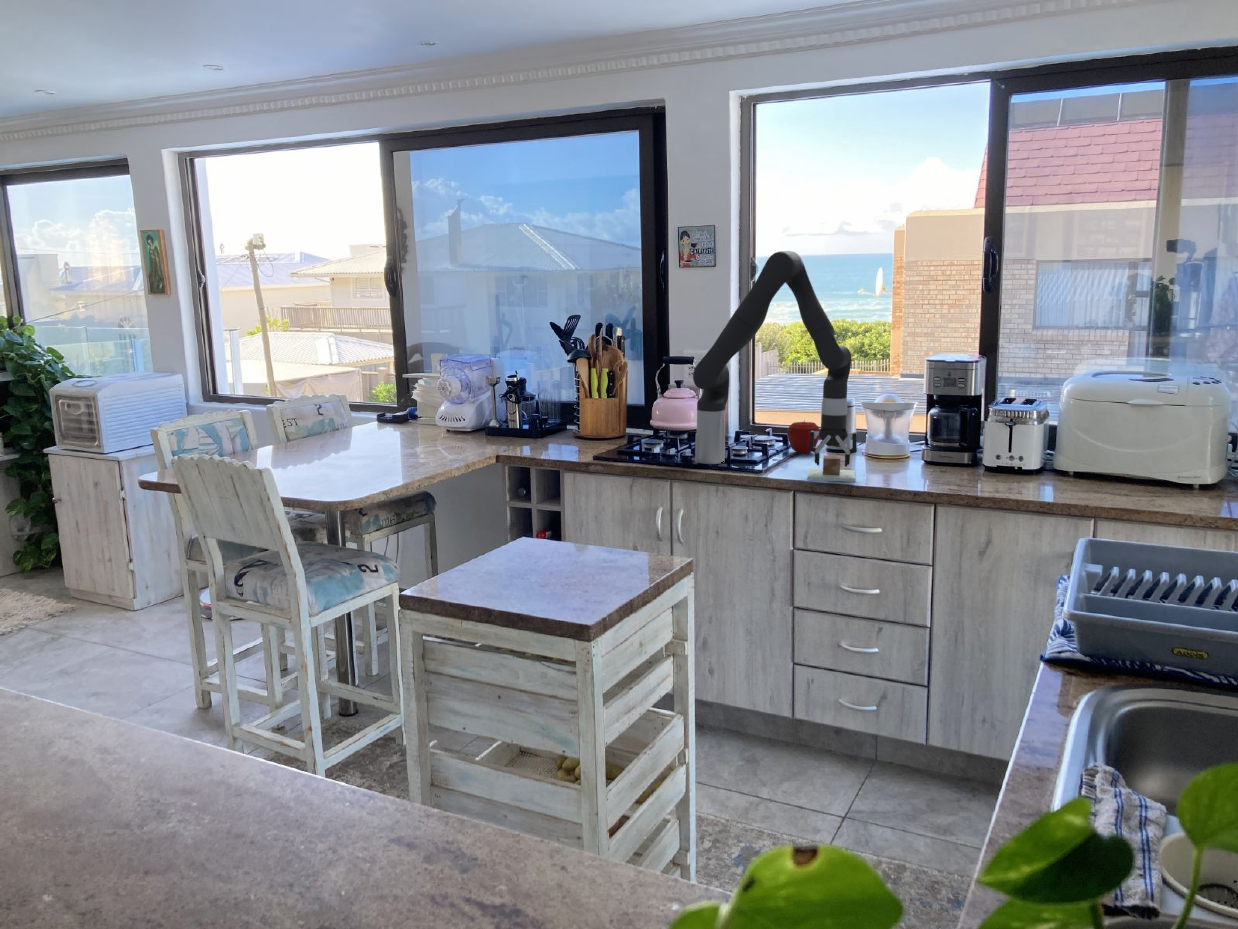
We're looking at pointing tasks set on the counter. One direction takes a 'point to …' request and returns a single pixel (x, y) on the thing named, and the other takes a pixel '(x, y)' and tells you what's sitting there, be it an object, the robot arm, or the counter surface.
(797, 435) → the apple
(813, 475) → the sage board
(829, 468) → the walnut cube
